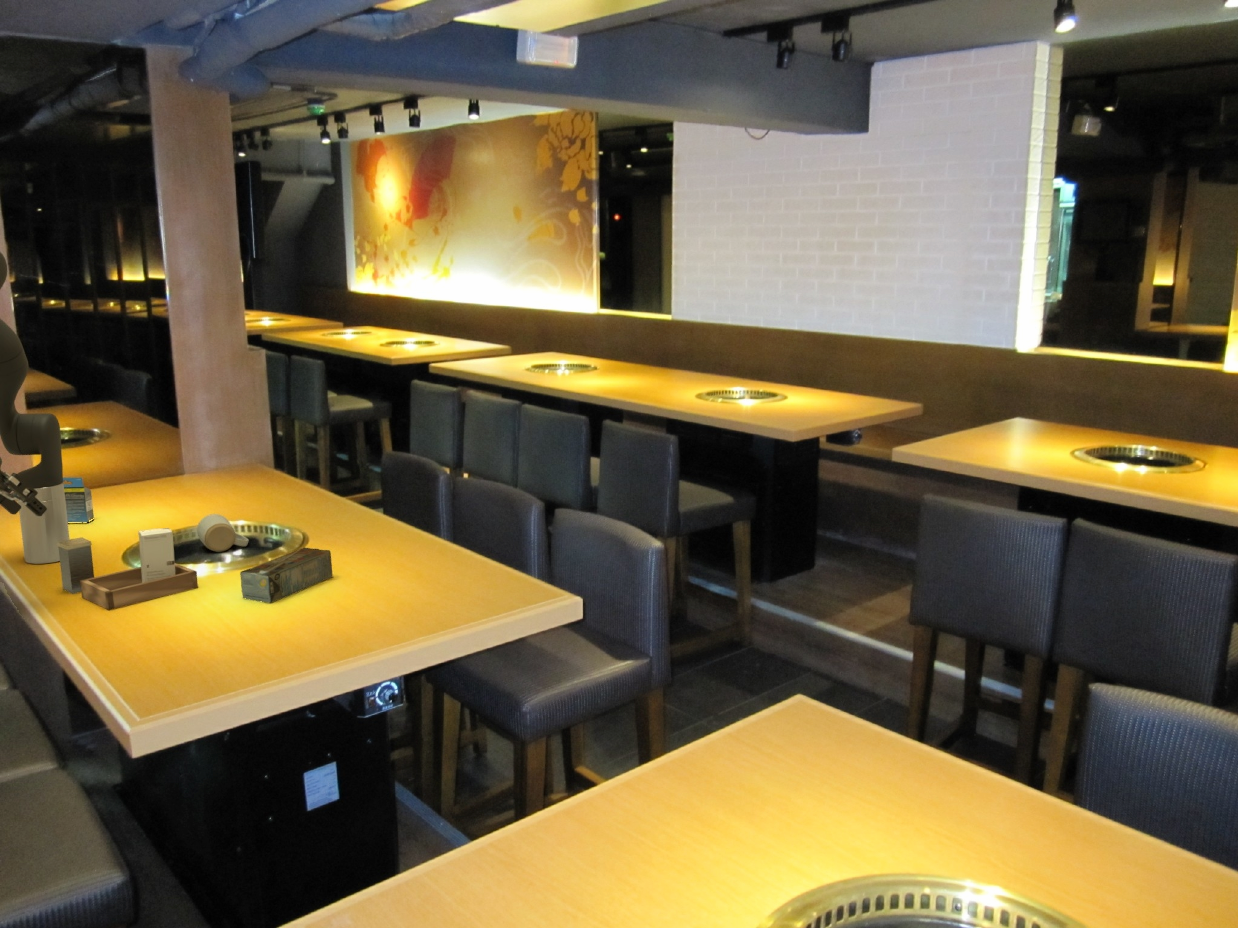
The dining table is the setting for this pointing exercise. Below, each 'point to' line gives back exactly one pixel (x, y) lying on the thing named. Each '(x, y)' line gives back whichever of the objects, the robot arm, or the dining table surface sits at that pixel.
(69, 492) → the label tape cartridge
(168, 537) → the skincare box
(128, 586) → the crate
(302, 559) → the beverage carton
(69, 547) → the tea tin
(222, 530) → the ceramic mug
